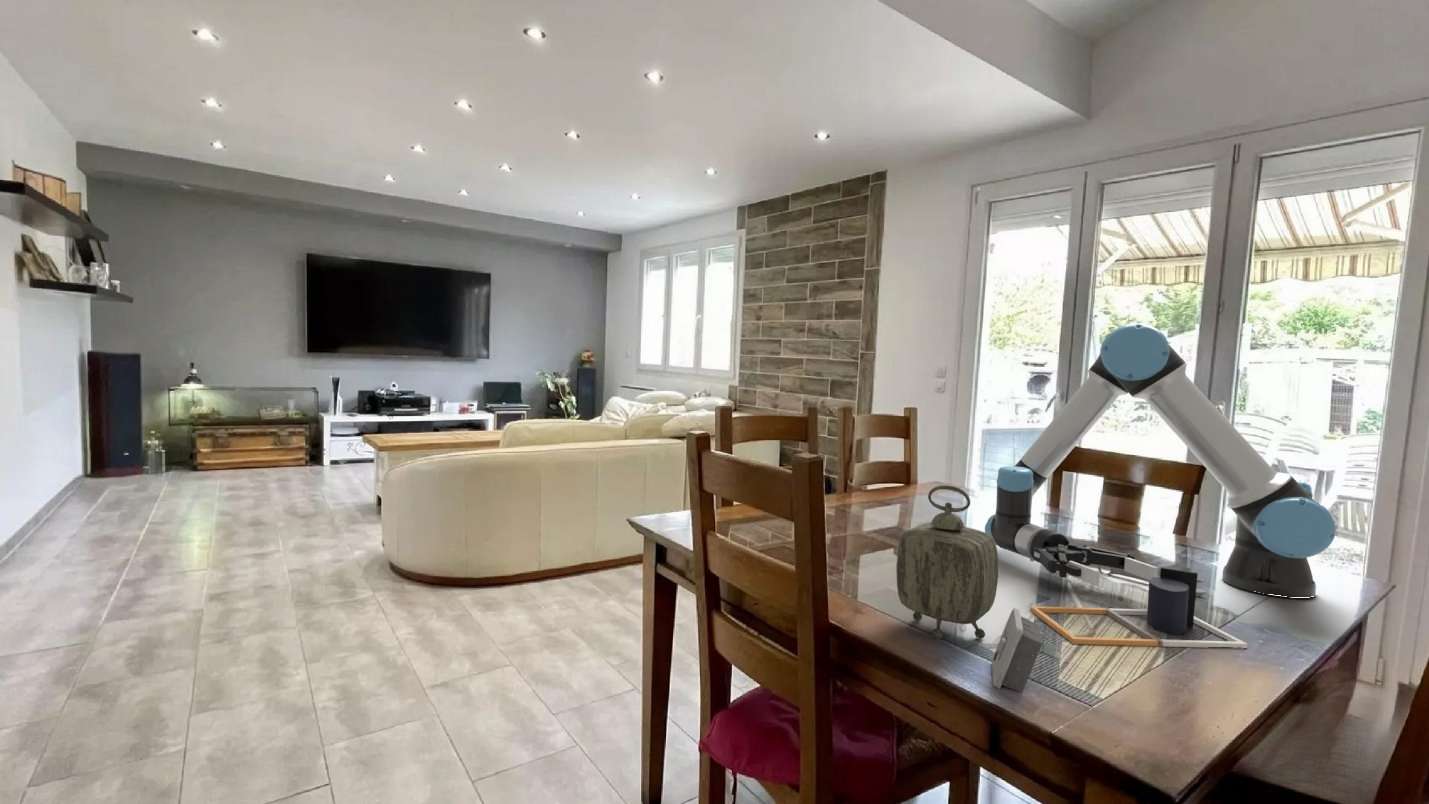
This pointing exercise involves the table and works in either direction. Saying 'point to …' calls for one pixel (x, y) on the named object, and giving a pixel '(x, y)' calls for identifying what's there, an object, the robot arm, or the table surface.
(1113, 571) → the combination wrench
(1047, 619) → the rectangular frame
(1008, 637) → the electrical switch
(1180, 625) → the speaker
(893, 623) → the table surface
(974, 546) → the tabletop clock
